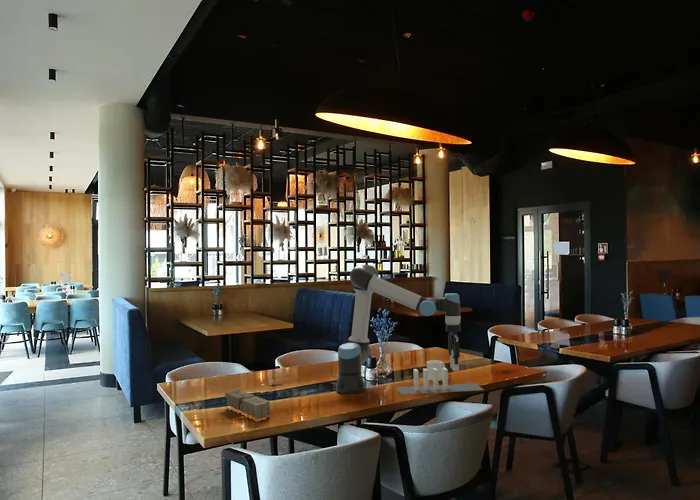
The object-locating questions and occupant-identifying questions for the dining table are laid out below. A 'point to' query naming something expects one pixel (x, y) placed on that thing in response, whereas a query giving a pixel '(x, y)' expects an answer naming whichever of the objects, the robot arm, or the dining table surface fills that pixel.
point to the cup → (436, 365)
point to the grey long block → (248, 403)
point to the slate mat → (440, 388)
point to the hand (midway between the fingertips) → (454, 369)
